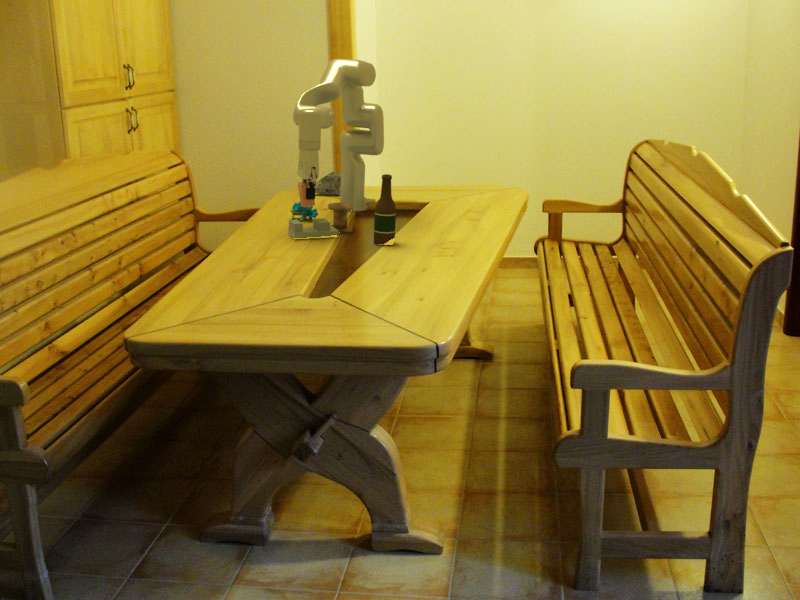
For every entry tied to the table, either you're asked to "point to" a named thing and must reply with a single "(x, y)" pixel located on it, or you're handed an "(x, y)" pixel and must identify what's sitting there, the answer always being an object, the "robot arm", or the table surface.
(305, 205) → the orange rectangular block
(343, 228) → the bobbin
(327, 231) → the grey notched block
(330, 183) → the mineral rock
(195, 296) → the table surface
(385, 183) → the beer bottle
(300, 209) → the teal lobed piece
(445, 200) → the table surface
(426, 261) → the table surface
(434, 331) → the table surface
